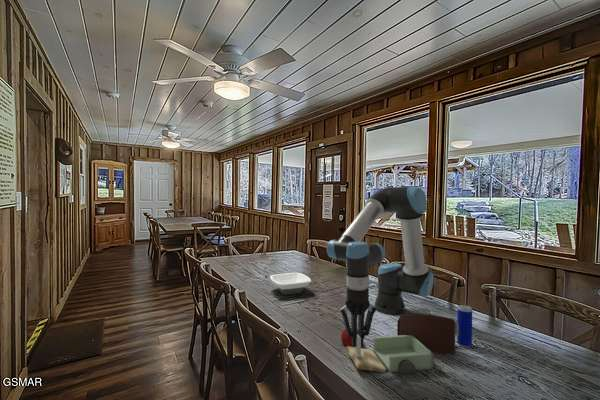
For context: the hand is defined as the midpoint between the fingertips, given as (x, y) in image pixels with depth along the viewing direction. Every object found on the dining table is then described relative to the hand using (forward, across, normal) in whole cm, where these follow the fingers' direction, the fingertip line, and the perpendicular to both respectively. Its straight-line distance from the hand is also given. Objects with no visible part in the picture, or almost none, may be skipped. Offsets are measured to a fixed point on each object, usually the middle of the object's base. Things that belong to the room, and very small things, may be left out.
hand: (357, 355), depth 103 cm
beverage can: (+4, +47, +8) cm, 48 cm away
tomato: (+4, +2, +13) cm, 14 cm away
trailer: (+4, +16, 0) cm, 16 cm away
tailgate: (+3, +8, 0) cm, 8 cm away
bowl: (+4, -14, +81) cm, 82 cm away
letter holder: (+4, +31, +10) cm, 33 cm away
